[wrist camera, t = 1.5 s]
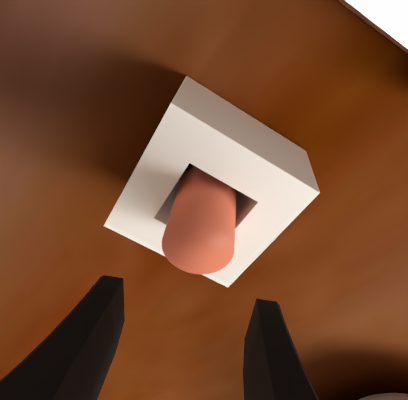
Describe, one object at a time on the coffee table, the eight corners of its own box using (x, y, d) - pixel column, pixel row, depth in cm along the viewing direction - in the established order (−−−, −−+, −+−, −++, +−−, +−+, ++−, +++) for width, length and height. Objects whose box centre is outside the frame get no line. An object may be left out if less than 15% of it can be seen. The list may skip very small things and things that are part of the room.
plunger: (248, 182, 16) (249, 241, 13) (217, 221, 18) (210, 284, 14) (197, 152, 16) (183, 206, 12) (169, 195, 17) (149, 254, 14)
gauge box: (305, 150, 18) (319, 192, 14) (230, 237, 21) (227, 287, 18) (186, 75, 16) (170, 102, 13) (127, 182, 20) (103, 225, 16)
